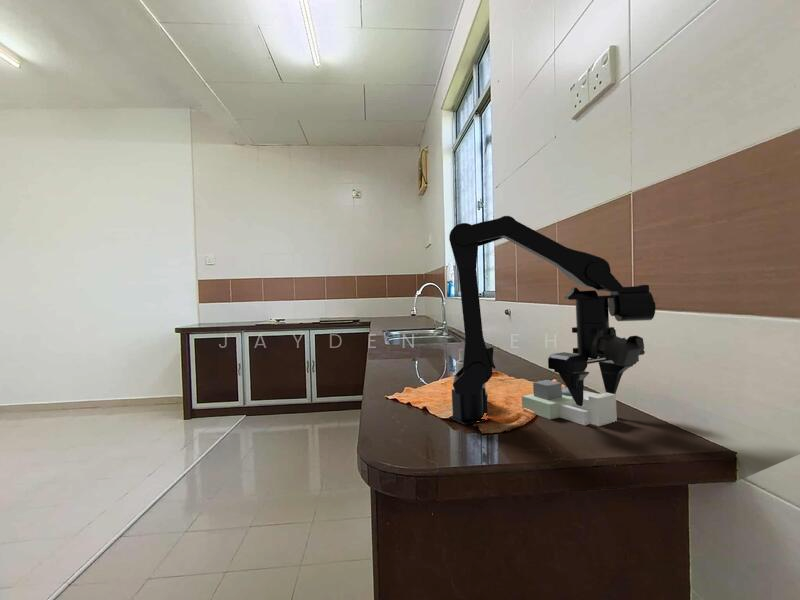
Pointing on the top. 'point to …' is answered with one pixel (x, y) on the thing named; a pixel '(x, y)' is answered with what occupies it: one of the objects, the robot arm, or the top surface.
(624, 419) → the top surface
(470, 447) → the top surface
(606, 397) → the white lidded box
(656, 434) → the top surface
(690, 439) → the top surface
